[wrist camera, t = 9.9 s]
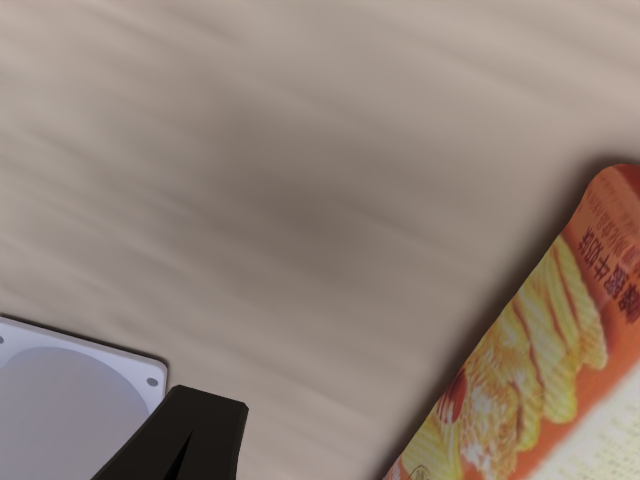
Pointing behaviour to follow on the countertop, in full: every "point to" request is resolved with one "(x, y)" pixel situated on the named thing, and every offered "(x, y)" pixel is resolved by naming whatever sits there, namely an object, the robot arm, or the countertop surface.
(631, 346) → the snack package
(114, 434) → the robot arm
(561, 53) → the countertop surface
